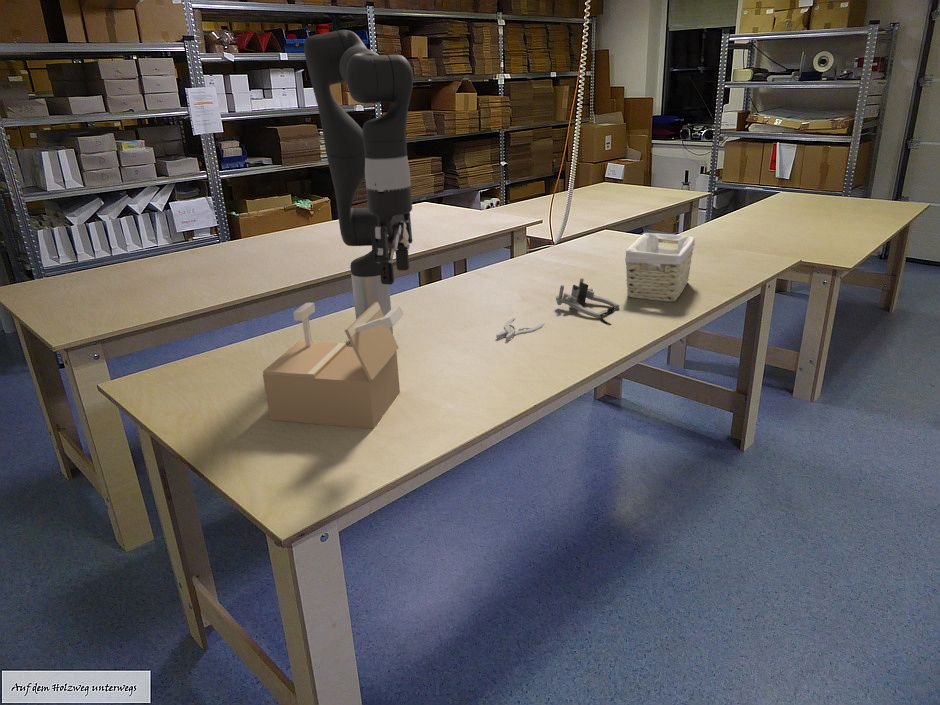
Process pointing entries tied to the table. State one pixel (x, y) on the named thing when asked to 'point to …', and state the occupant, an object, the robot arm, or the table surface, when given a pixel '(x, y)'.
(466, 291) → the table surface
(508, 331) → the pliers
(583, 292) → the bike brake
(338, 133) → the robot arm
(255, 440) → the table surface
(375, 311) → the right flap
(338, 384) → the carton
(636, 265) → the storage basket
